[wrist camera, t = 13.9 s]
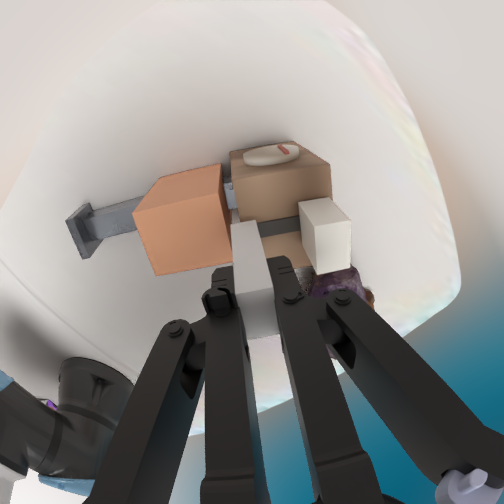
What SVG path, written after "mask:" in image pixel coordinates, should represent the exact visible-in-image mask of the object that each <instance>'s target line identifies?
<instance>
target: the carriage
mask: <svg viewBox="0 0 504 504" xmlns="http://www.w3.org/2000/svg"><path fill="white" fill-rule="evenodd" d="M222 179H223V172H222V167H221V163H220V164H215V165H210V166H206V167H201V168H197V169H193V170H188V171H184V172H180V173H176V174H172V175H168V176H164V177H161V178H159V179H158V181H157V182H156V183H155V184H154V185H153V187H152V188H151V189H150V190H149V192H148V193H147V194H146V195H145V197H144V198H143V199H142V201H141V202H140V203H139V205H138V206H137V207H136V208H135V210H134V211H133V212H132V215H133V218H134V221H135V224H136V227H137V229H138V232H139V235H140V237H141V240H142V243H143V245H144V248H145V250H146V253H147V256H148V258H149V261H150V263H151V265H152V268H153V270H154V273H155V275H156V276H160V275H166V274H171V273H177V272H182V271H187V270H193V269H198V268H203V267H208V266H214V265H219V264H224V263H230V262H233V255H232V240H231V224H232V213H231V209H229V208H228V204H227V199H226V195H225V190H224V186H223V181H222Z"/></svg>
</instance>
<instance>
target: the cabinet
mask: <svg viewBox="0 0 504 504" xmlns="http://www.w3.org/2000/svg"><path fill="white" fill-rule="evenodd" d="M230 161H231V176H232V184H233V189H234V193H235V198H236V203H237V208H238V213H239V217H240V222H246V221H252V220H256V223H257V227H258V231H259V235H260V238H261V242H262V246H263V250H264V254H265V258H272V257H277V256H282V255H284V256H286V257H287V258H288V259H290V261H291V263H292V266H293V269H296V268H301V267H306V266H311V265H312V263H311V261H310V259H309V257H308V255H307V253H306V251H305V249H304V247H303V245H302V236H301V225H300V216H299V206H298V202H302V201H308V200H314V199H320V198H326V197H329V198H330V199H331V200H332V201H333V199H332V184H331V170H330V164H329V163H327V162H326V161H324V160H323V159H321V158H320V157H318V156H316V155H315V154H313V153H312V152H310V151H309V150H307V149H305V148H304V147H302V146H301V145H299V144H297V143H296V142H294V141H291V142H284V143H278V144H271V145H265V146H259V147H253V148H248V149H242V150H237V151H232V152H230Z"/></svg>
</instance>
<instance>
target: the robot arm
mask: <svg viewBox="0 0 504 504" xmlns="http://www.w3.org/2000/svg"><path fill="white" fill-rule="evenodd" d="M231 240H232V255H233V266H228V267H222V268H217V269H216V270H215V271H214V273H213V274H212V284H211V287H212V288H210V289H208V290H207V291H206V292H205V293H204V294H203V295H202V298H201V299H202V302H203V305H204V308H205V310H206V313H207V315H206V316H205V317H204V318H203V319H201V320H199V321H197V322H194V323H192V324H189V322H187V321H186V320H182V319H178V320H173V321H171V322H169V323H167V324H166V325H164V327H163V328H162V330H161V331H160V333H159V336H158V338H157V340H156V342H155V344H154V346H153V348H152V350H151V352H150V354H149V356H148V358H147V360H146V363H145V365H144V367H143V369H142V371H141V373H140V375H139V378H138V380H137V382H136V384H135V386H133V385H132V383H131V382H130V381H129V380H128V379H127V378H126V377H124V376H123V375H122V374H120V373H119V372H117V371H116V370H114V369H112V368H110V367H108V366H106V365H104V364H101V363H99V362H96V361H93V360H89V359H84V358H70V359H67V360H66V361H64V362H63V364H62V367H61V369H60V372H59V382H60V384H59V402H58V406H57V409H56V411H55V410H53V409H52V408H50V407H49V406H47V405H46V404H44V403H43V402H41V401H40V400H39V399H37V398H36V397H35V396H33V395H32V394H30V393H29V392H28V391H27V390H25V389H24V388H23V387H21V386H20V385H19V384H18V383H16V382H15V381H14V379H13V378H12V377H9V376H8V375H7V374H5V373H4V372H3V371H2V370H0V504H10V499H11V493H12V489H13V484H14V482H15V481H16V480H20V479H24V478H26V476H27V472H28V468H30V469H32V470H34V471H36V472H38V473H39V474H38V477H39V481H40V482H41V483H44V484H46V485H49V486H52V487H55V488H58V489H61V490H64V491H68V492H71V493H75V494H78V495H82V496H87V497H88V498H87V499H86V500H85V501H84V502H83V503H82V504H168V503H169V500H170V496H171V493H172V489H173V486H174V482H175V479H176V475H177V472H178V468H179V465H180V461H181V458H182V455H183V451H184V448H185V445H186V441H187V438H188V434H189V431H190V428H191V424H192V421H193V417H194V414H195V411H196V407H197V404H198V401H199V397H200V394H201V391H202V387H203V384H204V381H205V463H206V475H205V478H204V479H203V480H202V482H201V486H200V504H271V500H270V495H269V492H268V488H267V482H266V476H265V468H264V461H263V454H262V446H261V439H260V431H259V425H258V416H257V409H256V401H255V393H254V385H253V377H252V369H251V361H250V353H249V347H248V343H247V340H250V339H255V338H261V337H266V336H272V335H277V334H280V337H281V344H282V351H283V353H284V357H285V361H286V366H287V370H288V375H289V379H290V384H291V388H292V393H293V397H294V402H295V406H296V411H297V415H298V420H299V424H300V429H301V433H302V438H303V443H304V447H305V452H306V457H307V461H308V466H309V471H310V475H311V481H312V487H313V493H314V498H315V502H314V503H312V504H405V503H403V502H401V501H399V500H397V499H395V498H394V497H391V496H389V495H386V494H382V493H381V490H380V486H379V483H378V480H377V477H376V474H375V470H374V467H373V464H372V461H371V459H370V457H369V455H368V453H367V452H365V451H364V450H363V449H362V447H361V444H360V442H359V438H358V435H357V432H356V429H355V426H354V423H353V420H352V417H351V414H350V411H349V408H348V405H347V402H346V400H345V397H344V394H343V391H342V388H341V385H340V382H339V380H338V377H337V374H336V371H335V368H334V366H333V363H332V360H331V357H330V355H329V352H328V349H327V347H328V348H329V350H330V351H331V352H332V354H333V355H334V356H335V358H336V359H337V360H338V362H339V363H340V364H341V366H342V367H343V368H344V370H345V371H346V372H347V374H348V375H349V376H350V378H351V379H352V380H353V381H354V383H355V384H356V386H357V387H358V388H359V390H360V391H361V392H362V394H363V395H364V396H365V398H366V399H367V400H368V402H369V403H370V404H371V406H372V407H373V408H374V410H375V411H376V412H377V414H378V415H379V416H380V418H381V419H382V420H383V422H384V423H385V424H386V426H387V427H388V428H389V430H390V431H391V432H392V433H393V435H394V436H395V438H396V439H397V440H398V442H399V443H400V444H401V446H402V447H403V449H404V450H405V451H406V453H407V454H408V455H409V457H410V458H411V459H412V461H413V462H414V463H415V465H416V466H417V467H418V468H419V469H420V471H421V472H422V473H423V474H424V475H425V476H426V477H427V478H428V479H429V480H431V481H432V482H433V483H434V484H436V485H438V487H437V489H436V492H435V500H436V502H437V504H496V502H497V500H498V498H499V497H500V494H501V493H502V491H503V489H504V435H502V434H500V433H498V432H496V431H494V430H492V429H490V428H488V427H486V426H484V425H483V424H482V422H481V421H480V420H479V419H478V418H477V417H476V416H475V415H474V413H473V412H472V411H471V410H470V409H469V408H468V407H467V406H466V405H465V403H464V402H463V401H462V400H461V399H460V398H459V397H458V396H457V395H456V394H455V392H454V391H453V390H452V389H451V388H450V387H449V386H448V385H447V384H446V383H445V382H444V381H443V380H442V379H441V377H440V376H439V375H438V374H437V373H436V372H435V371H434V370H433V369H432V368H431V367H430V366H429V365H428V364H427V363H426V362H425V361H424V360H423V359H422V358H421V357H420V356H419V354H418V353H416V351H414V349H413V348H412V347H411V346H410V345H409V344H408V343H407V342H406V341H405V340H404V339H403V338H402V337H401V336H400V335H399V334H398V333H397V332H396V331H395V330H394V329H393V328H392V327H391V326H390V325H389V324H388V323H387V322H386V321H385V320H384V319H383V318H381V317H380V316H379V315H378V314H377V313H376V312H375V311H374V310H373V309H372V308H371V307H370V306H369V305H368V304H367V303H366V302H365V301H364V300H363V299H362V298H361V297H360V296H359V295H358V294H357V293H355V292H354V291H352V290H350V289H346V288H339V289H335V290H333V291H331V292H329V294H328V295H327V298H315V297H311V296H308V295H307V294H306V293H305V292H304V291H303V290H302V289H301V287H300V284H299V281H298V279H297V276H296V274H295V272H294V269H293V266H292V263H291V261H290V259H288V258H287V257H286V256H284V255H282V256H277V257H272V258H265V254H264V250H263V246H262V242H261V238H260V235H259V231H258V227H257V223H256V220H252V221H246V222H241V223H236V224H231ZM326 345H327V346H326Z"/></svg>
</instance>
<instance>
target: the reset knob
mask: <svg viewBox="0 0 504 504" xmlns="http://www.w3.org/2000/svg"><path fill="white" fill-rule="evenodd" d="M298 206H299V216H300V225H301V236H302V245H303V247H304V249H305V251H306V253H307V255H308V257H309V259H310V261H311V263H312V265H313V268H314V270H315V272H316V274H317V275H319V274H324V273H329V272H333V271H338V270H342V269H347V268H350V257H351V220H350V219H349V218H348V217H347V215H346V214H345V213H344V212H343V211H342V210H341V209H340V208H339V207H338V206H337V205H336V204H335V203H334V202H333V201H332V200H331V199H330V198H329V197H326V198H320V199H314V200H308V201H302V202H298Z"/></svg>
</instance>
